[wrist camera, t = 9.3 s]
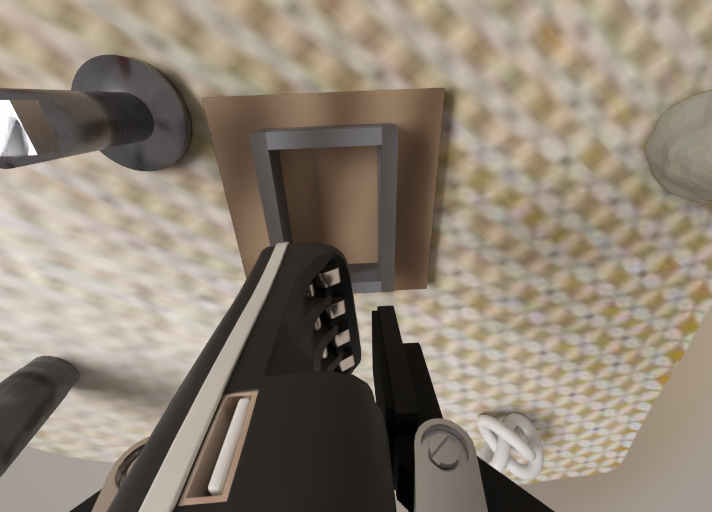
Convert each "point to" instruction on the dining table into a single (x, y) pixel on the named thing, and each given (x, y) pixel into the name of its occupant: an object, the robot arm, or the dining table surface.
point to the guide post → (98, 118)
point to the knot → (511, 445)
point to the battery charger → (272, 405)
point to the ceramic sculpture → (684, 148)
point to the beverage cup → (30, 402)
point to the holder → (334, 176)
